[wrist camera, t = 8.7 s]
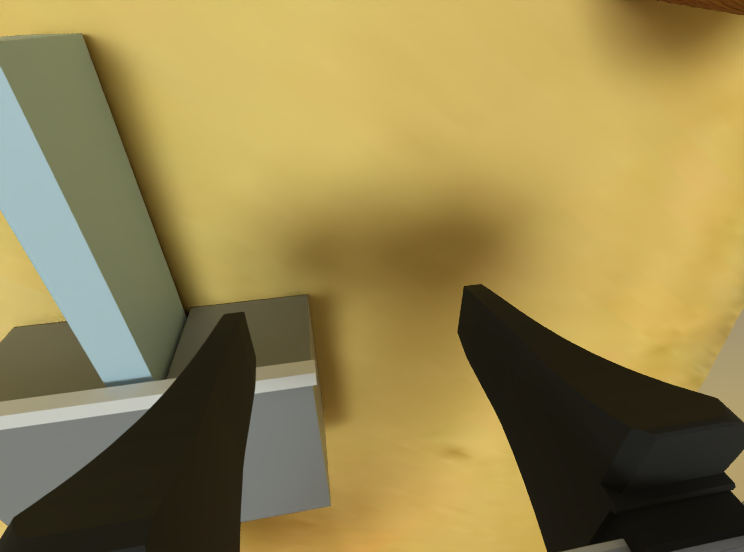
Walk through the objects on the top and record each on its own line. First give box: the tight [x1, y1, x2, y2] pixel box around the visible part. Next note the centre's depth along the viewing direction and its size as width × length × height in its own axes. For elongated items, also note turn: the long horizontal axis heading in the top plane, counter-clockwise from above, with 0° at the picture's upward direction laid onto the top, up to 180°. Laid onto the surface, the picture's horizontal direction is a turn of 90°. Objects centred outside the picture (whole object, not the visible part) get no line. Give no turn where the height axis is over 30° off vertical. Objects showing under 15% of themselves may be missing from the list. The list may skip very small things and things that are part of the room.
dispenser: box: [0, 295, 331, 526], centre depth 22 cm, size 12×16×7 cm
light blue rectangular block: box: [0, 33, 187, 388], centre depth 16 cm, size 14×2×6 cm, turn 1°
